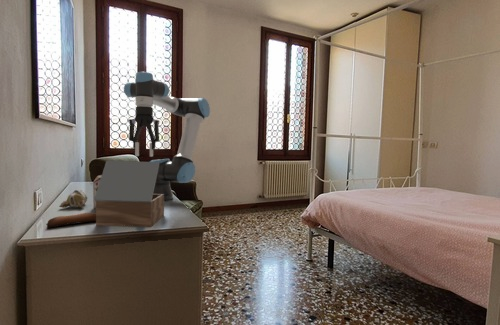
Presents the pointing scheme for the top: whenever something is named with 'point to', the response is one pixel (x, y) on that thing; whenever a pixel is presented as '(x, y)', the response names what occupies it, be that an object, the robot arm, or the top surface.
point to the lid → (127, 181)
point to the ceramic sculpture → (75, 200)
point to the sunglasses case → (71, 219)
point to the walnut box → (130, 212)
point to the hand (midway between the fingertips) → (144, 156)
